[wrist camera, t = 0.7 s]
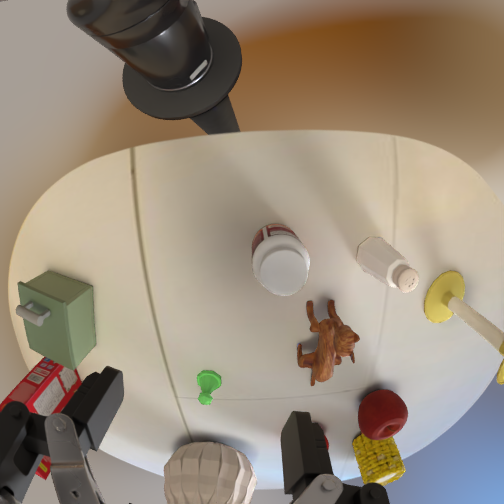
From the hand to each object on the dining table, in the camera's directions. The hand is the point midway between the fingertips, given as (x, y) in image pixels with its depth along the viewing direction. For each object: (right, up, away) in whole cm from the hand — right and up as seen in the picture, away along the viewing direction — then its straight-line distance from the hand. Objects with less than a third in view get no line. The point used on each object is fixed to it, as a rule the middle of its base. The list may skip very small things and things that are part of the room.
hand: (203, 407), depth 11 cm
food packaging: (-37, -20, +34) cm, 54 cm away
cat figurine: (+12, -7, +30) cm, 33 cm away
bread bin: (-30, -3, +29) cm, 42 cm away
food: (+30, -36, +37) cm, 60 cm away
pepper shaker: (+19, +7, +26) cm, 33 cm away
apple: (+26, -21, +33) cm, 48 cm away
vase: (-7, -39, +39) cm, 55 cm away
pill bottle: (+5, +8, +26) cm, 27 cm away
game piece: (-5, -15, +32) cm, 35 cm away
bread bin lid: (-30, -5, +21) cm, 37 cm away
